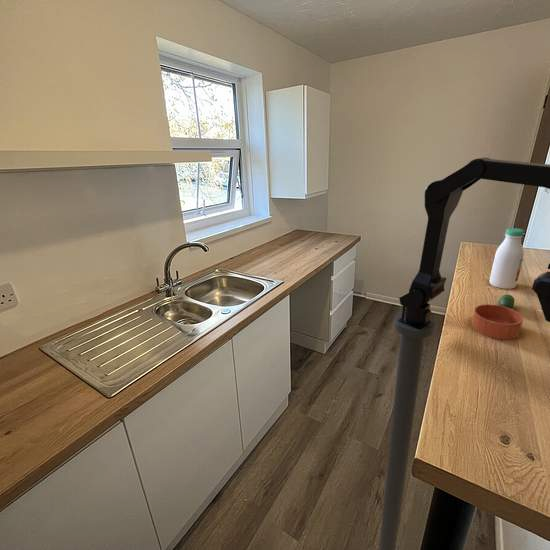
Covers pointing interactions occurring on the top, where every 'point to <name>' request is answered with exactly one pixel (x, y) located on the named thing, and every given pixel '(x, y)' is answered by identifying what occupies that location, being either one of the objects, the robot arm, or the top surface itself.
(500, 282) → the milk bottle
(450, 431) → the top surface
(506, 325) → the bowl
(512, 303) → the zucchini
